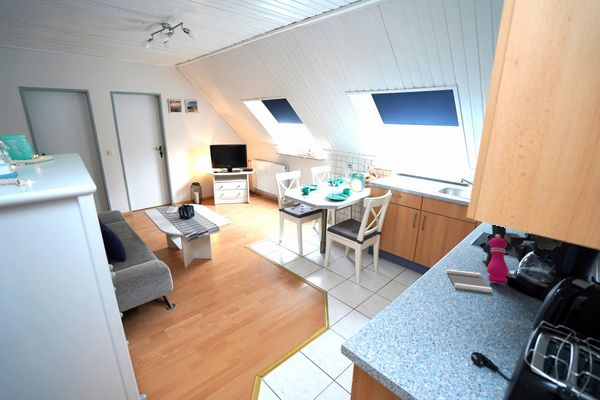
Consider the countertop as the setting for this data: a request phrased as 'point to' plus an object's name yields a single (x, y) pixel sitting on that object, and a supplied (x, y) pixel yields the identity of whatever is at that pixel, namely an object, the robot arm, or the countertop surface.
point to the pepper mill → (498, 261)
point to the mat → (468, 281)
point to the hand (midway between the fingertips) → (529, 260)
